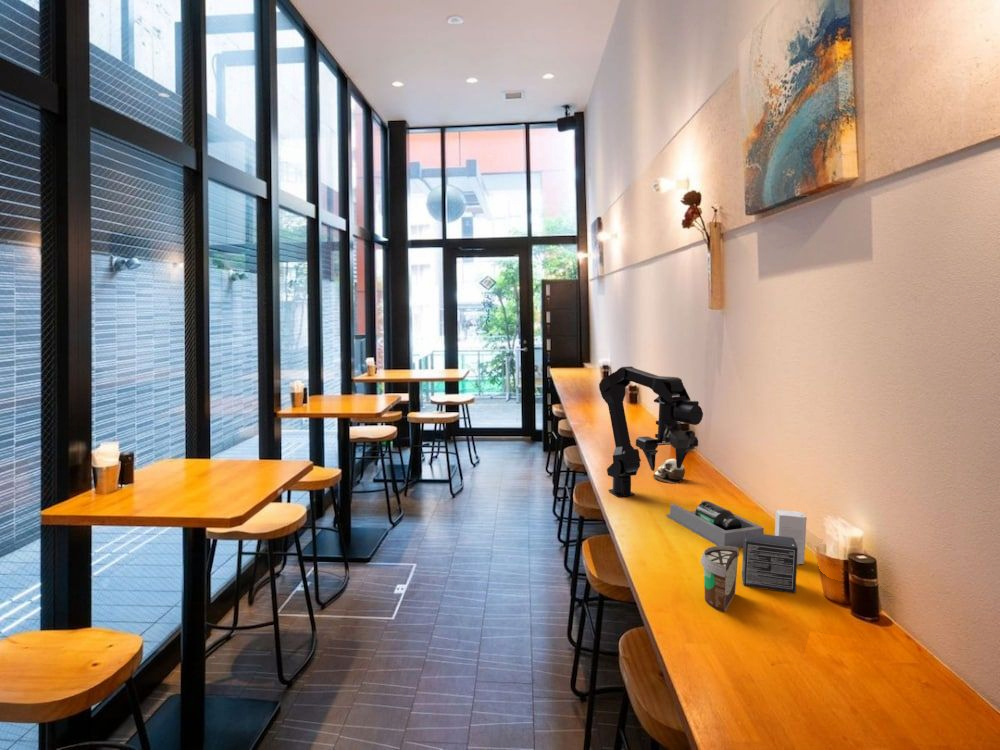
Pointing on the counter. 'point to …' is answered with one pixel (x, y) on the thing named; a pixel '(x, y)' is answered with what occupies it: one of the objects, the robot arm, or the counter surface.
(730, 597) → the food container
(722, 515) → the supplement bottle
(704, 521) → the gray rectangular tray
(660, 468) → the skull
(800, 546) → the skincare box
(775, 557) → the small box
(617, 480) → the robot arm
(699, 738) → the counter surface
